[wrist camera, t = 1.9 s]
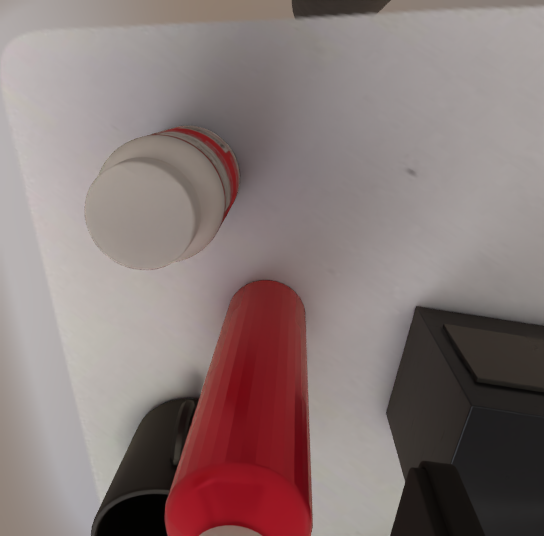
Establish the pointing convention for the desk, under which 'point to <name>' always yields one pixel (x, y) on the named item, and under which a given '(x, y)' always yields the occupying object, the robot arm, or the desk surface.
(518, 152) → the desk surface
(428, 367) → the appliance
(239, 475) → the bottle
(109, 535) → the mug
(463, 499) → the robot arm
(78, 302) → the desk surface
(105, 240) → the pill bottle
